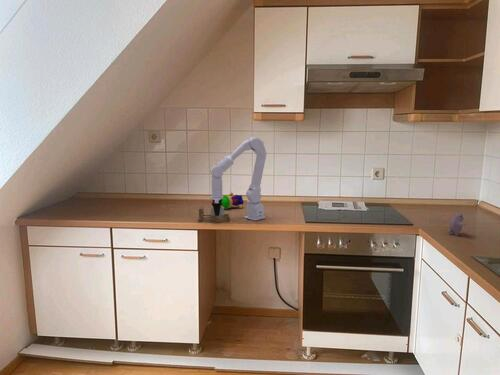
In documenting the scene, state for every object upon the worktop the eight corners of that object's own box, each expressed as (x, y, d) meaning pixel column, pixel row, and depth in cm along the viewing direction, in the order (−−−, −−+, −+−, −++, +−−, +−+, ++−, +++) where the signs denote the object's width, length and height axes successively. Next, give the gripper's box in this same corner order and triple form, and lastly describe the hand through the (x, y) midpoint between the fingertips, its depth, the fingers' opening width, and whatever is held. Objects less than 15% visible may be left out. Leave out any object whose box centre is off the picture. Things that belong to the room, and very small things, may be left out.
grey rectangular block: (224, 217, 201) (224, 207, 200) (224, 218, 199) (224, 207, 198) (211, 218, 200) (211, 207, 199) (211, 218, 199) (210, 208, 198)
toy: (235, 194, 236) (214, 197, 228) (241, 188, 230) (220, 190, 222) (241, 211, 232) (220, 214, 224) (247, 205, 226) (226, 207, 217)
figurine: (466, 238, 168) (469, 216, 166) (452, 238, 169) (454, 215, 167) (456, 231, 179) (459, 210, 178) (443, 230, 180) (445, 209, 179)
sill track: (229, 218, 204) (229, 205, 203) (229, 221, 197) (229, 208, 196) (200, 218, 203) (199, 206, 202) (199, 221, 196) (198, 209, 195)
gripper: (210, 186, 204) (210, 210, 206) (208, 191, 190) (209, 217, 192) (222, 186, 204) (223, 210, 207) (222, 191, 190) (222, 216, 192)
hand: (217, 213), depth 199 cm, fingers open, 7 cm apart
